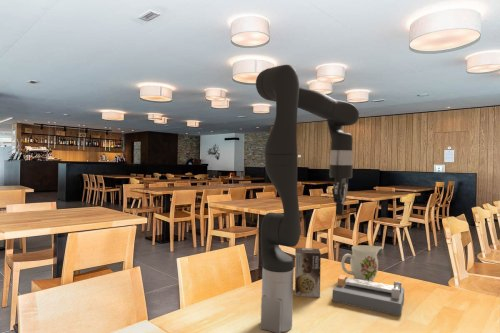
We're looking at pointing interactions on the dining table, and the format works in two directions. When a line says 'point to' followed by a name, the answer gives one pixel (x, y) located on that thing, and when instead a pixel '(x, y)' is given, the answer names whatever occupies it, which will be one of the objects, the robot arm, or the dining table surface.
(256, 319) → the dining table surface
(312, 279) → the coffee box
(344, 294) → the block
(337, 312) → the dining table surface
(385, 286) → the metal hinged lever
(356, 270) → the pitcher
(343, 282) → the block
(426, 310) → the dining table surface
